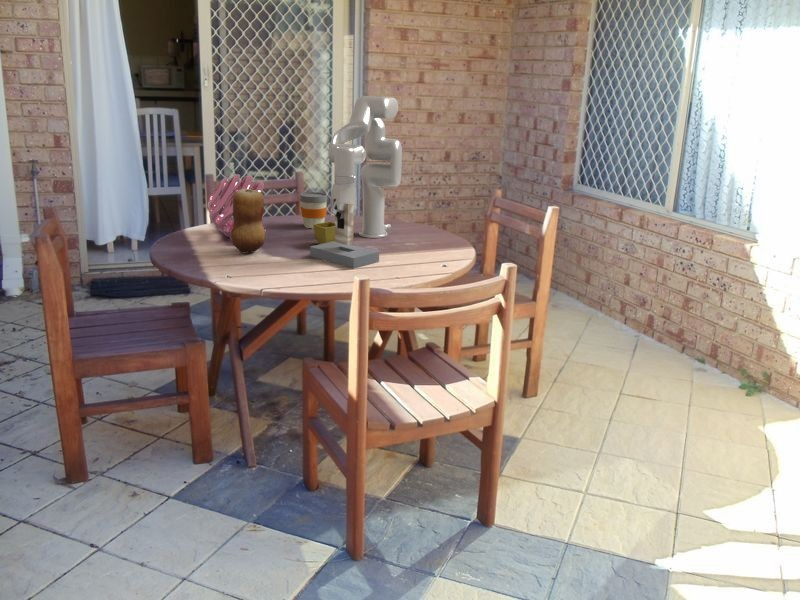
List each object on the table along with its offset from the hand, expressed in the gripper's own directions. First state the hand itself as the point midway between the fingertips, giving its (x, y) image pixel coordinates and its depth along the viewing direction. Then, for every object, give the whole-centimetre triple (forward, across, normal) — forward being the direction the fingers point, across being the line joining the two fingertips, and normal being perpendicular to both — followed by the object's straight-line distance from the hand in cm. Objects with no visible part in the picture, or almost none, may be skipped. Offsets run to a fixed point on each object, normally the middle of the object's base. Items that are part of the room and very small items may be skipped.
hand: (344, 227), depth 283 cm
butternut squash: (+13, +20, -34) cm, 42 cm away
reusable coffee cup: (+12, -30, -50) cm, 60 cm away
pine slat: (+6, 0, 0) cm, 6 cm away
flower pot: (+13, -10, -20) cm, 26 cm away
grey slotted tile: (+13, 0, 0) cm, 13 cm away
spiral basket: (+13, +7, -58) cm, 60 cm away
